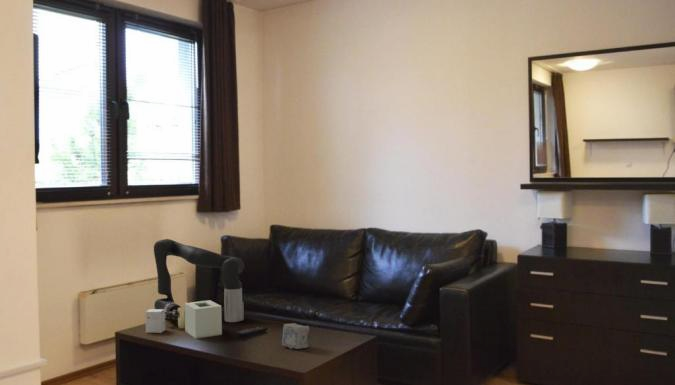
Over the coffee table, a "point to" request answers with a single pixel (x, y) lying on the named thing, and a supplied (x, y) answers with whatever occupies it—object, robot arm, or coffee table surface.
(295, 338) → the incense holder
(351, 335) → the coffee table surface
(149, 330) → the small box
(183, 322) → the brass token
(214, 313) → the box
